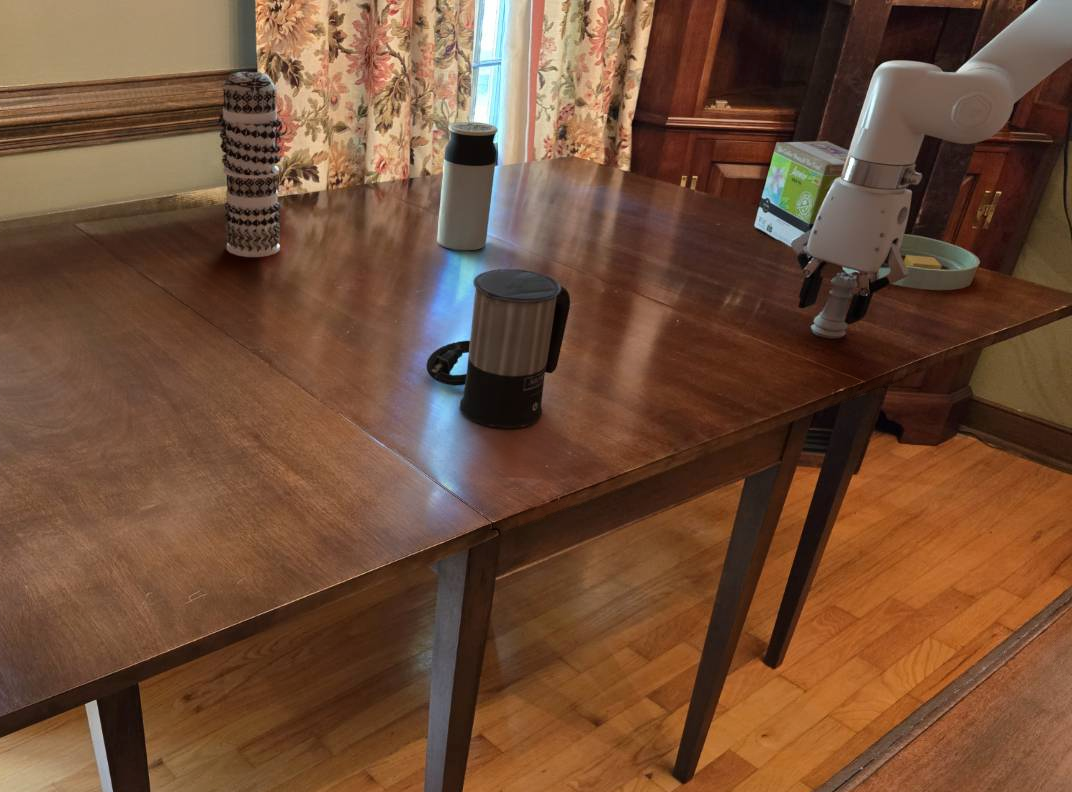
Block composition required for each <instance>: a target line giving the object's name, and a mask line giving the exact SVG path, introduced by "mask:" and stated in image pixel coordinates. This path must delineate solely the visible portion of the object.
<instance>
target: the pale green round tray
mask: <svg viewBox="0 0 1072 792" xmlns="http://www.w3.org/2000/svg"><path fill="white" fill-rule="evenodd" d="M899 253H900V255H901V257H906V255H913V256H924V257H934V258H935V259H936V260H937V261H938V262H939V263H940V264H941V265H942V267H945V268H946V269H941V270H940V269H926V268H919V267H912V266H907V265H905V266H906V268H907V270H908V276H906V277H905V278H903V279H900V280H898V281H896V282H894V283H892V284H891V285H895V286H900V287H905V288H911V289H919V290H929V291H954V290H959V289H960V290H961V289H964V288H967V287H969V286H971V284H972V283H973V281H974V280H975V279H974V278H975V276H976V274H977V271H978V270H979V267H980V264H981V261H980V259H979V257H978V256H977V255H976V254H975V253H973V252H972V251H969V250H967V249H965V248H963V247H961V246H958V245H956V244H952V243H949V242H945V241H942V240H938V239H935V238H930V237H927V236H926V237H925V236H921V235H915V234H914V235H913V234H907V233H904V236H903V240H902V243H901V247H900V250H899ZM841 268H842V270H843V271H844V273H846V275H849V274H852V273H858V274H859V271H855V270H852V269H849V268H845V267H842V266H841ZM890 271H891V270H890V267H889V268H880V269H879V279H880V278H882V277H884V276H886V275H888V274H889V273H890Z"/></svg>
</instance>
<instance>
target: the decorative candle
mask: <svg viewBox="0 0 1072 792" xmlns="http://www.w3.org/2000/svg"><path fill="white" fill-rule="evenodd" d="M220 87H221V88H222V91H223V108H222V114H220V115H219V118H218V119H217V121H218V123H219V126H221V128H222V129H221V130H220V133H219V138H220V139H221V144H220V149H221V151H222V152H223V153H224V154H223V155H222V159H221V162H222V164H223V166H224V167H223V173H224V174H225V175H226V191H225V197H226V198H225V199H226V202H225V203H224V205H223V206H224V208H225V210H226V213H225V214H224V218H225V220H227V221H228V222H227V223H226V224H225V225H224V229H225V231H226V235H225V240H226V250H227V252H229V253H230V254H232V255H235V256H238V257H244V258H263V257H269V256H272V255H275V254H277V253H279V252H280V249H281V247H280V246H281V245H280V244H279V243H280V240H281V236H280V231H281V226H280V223H279V222H278V221H279V220H280V218H281V215H280V213H279V210H280V209H281V204H280V203H279V202H278V200H279V199H278V197H279V196H278V193H279V192H278V190H277V176H278V175H279V174H280V168H279V166H277V164H278V163H280V162H281V157H280V156H279V155H277V153H279V152H280V151H281V149H282V148H281V146H280V145H279V144H277V143H276V140H278V139H279V138H280V137H281V136H282V132H281V131H280V130H279V129H278V128H279V127H281V126H282V123H283V121H282V120H281V119H279V118H278V109H277V107H276V89H277V88H278V85H276V84H274V83H273V81H272V79H271V77H270V76H269V75H268V74H265V73H263V72H256V71H238V72H233V73H230V74H229V75H228V77H227V79H226V81H225V82H224V83H222V84H221V85H220Z"/></svg>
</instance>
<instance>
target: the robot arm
mask: <svg viewBox="0 0 1072 792" xmlns="http://www.w3.org/2000/svg"><path fill="white" fill-rule="evenodd" d="M1071 59H1072V0H1037V1H1035V2H1034V3H1033V4H1032V5H1030V6H1029V7H1028V8H1027V9H1026V10H1025V11H1024V12H1022V13H1021V14H1020V15H1019V16H1018V17H1017V18H1016V19H1014V21H1012V22H1011V23H1010V24H1009V25H1007V26H1006V27H1005V28H1004V29H1002V30H1001V31H1000V32H999V33H998V34H997V35H996V36H995V37H993V38H992V39H991V40H990V41H989V42H988V43H987V44H986V45H985V46H983V47H982V48H981V49H980V50H979V51H978V52H977V53H975V54H974V55H973V56H972V57H971V58H970V59H968V60H967V61H966V62H965V63H964V64H963V65H962V66H960V67H959V68H958V69H957V70H956V71H953V72H952V71H949V72H948V71H943V70H942V68H941V67H939V66H937V65H935V64H931V63H928V62H922V61H915V60H889V61H885V62H882V63H881V64H880V65H878V67H877V68H876V69H874V72H873V74H872V77H871V80H870V83H869V85H868V90H867V92H866V96H865V98H864V101H863V105H862V108H861V112H860V114H859V118H858V121H857V124H856V127H855V131H854V133H853V137H852V140H851V143H850V146H849V149H848V151H849V153H848V155H847V158H846V162H845V165H844V168H843V171H842V174H841V177H839V178H836V179H835V181H834V182H833V184H832V186H831V188H830V189H829V191H828V193H827V195H826V197H825V199H824V201H823V203H822V205H821V208H820V210H819V212H818V215H817V217H816V220H815V222H814V225H813V228H812V229H810V230H809V231H807V232H805V233H804V234H802V235H801V236H799V237H797V238H796V239H794V240H793V241H792V242H791V246H792V247H791V246H790V247H791V248H792V250H793V252H794V254H795V256H797V262H798V264H799V266H800V268H801V270H802V271H801V276H802V277H803V278H804V279H803V283H802V285H801V287H800V292H799V295H798V298H799V302H798V306H797V307H798V308H800V309H805V308H808V307H811V306H813V305H815V304H816V301H817V298H818V296H819V292H820V290H821V287H822V283H823V280H824V275H822V271H823V270H824V269H825V267H826V266H827V265H828V263H830V264H832V265H836V266H839V267H841V268H842V267H845V268H849V269H852V270H855V271H859V273H858V286H859V288H858V292H857V293H854V294H853V295H852V297H851V301H850V303H849V307H848V310H847V311H846V318H845V323H846V324H847V325H848V326H849V325H852V324H855V323H857V322H859V321H861V320H862V319H864V318H865V316H866V314H867V312H868V309H869V307H870V304H871V301H872V298H873V295H874V294H875V293H877V292H879V291H880V290H882V289H885V288H886V287H888V286H890V285H893V284H892V283H894V282H896V281H898V280H900V279H903V278H905V277H906V276H908V270H907V268H906V266H905V263H904V259H903V256H902V255H900V253H899V250H900V247H901V243H902V240H903V236H904V234H905V232H906V228H907V223H908V220H909V215H910V210H911V202H912V195H913V191H912V190H911V189H908V188H907V187H909V185H915V186H918V185H919V184H920V182H921V180H922V179H923V173H921V172H917V170H916V166H917V164H916V161H917V157H918V156H919V152H920V149H921V147H922V144H923V141H924V138H925V135H926V136H929V137H932V138H936V139H941V140H944V141H946V142H950V143H955V144H961V145H970V144H977V143H980V142H983V141H986V140H988V139H990V138H992V137H993V136H994V135H996V134H997V133H998V132H1000V131H1001V130H1002V129H1003V128H1004V127H1005V125H1006V124H1007V123H1008V121H1009V120H1010V117H1011V115H1012V112H1013V110H1014V104H1015V103H1017V102H1018V101H1019V100H1020V99H1021V98H1022V97H1024V96H1025V95H1027V94H1028V93H1029V92H1030V91H1031V90H1033V88H1035V87H1036V86H1037V85H1039V84H1040V83H1041V82H1042V81H1043V80H1045V79H1046V78H1047V77H1048V76H1050V75H1051V74H1053V73H1054V72H1055V71H1056V70H1057V69H1058V68H1060V67H1062V66H1063V65H1064V64H1065V63H1067V62H1068V61H1070V60H1071ZM889 267H890V270H891V271H890V273H889V274H888V275H886V276H884V277H882V278H880V279H879V269H880V268H889Z"/></svg>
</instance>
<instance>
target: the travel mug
mask: <svg viewBox="0 0 1072 792" xmlns="http://www.w3.org/2000/svg"><path fill="white" fill-rule="evenodd" d="M448 130H449V133H450V134H449V135H450V139H449V140H448V142H447V144H446V145H445V148H444V159H443V169H442V181H441V191H440V203H439V215H438V225H437V226H438V227H437V237H436V242H437V243H438V244H439V245H441V246H442V247H444V248H446V249H448V250H452V251H461V252H462V251H463V252H470V251H477V250H480V249H482V248H484V247H485V246H487V245H486V244H487V239H488V228H489V220H490V211H491V202H492V194H493V186H494V178H495V168H496V161H497V148H496V144H495V143H494V140H495V136H496V134H497V133H498V128H497V127H496V126H495V125H492V124H489V123H485V122H477V121H457V122H452V123H449V125H448Z"/></svg>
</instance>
